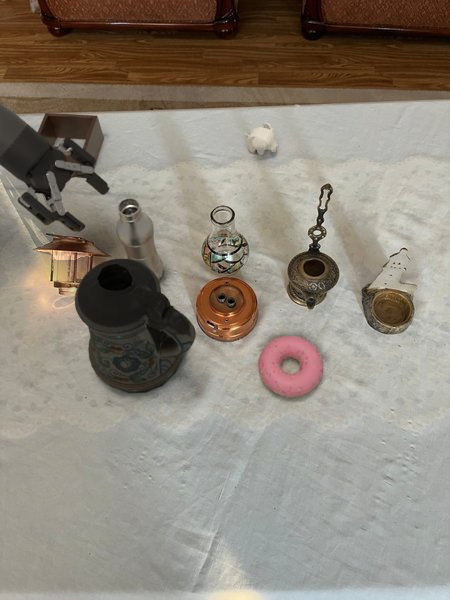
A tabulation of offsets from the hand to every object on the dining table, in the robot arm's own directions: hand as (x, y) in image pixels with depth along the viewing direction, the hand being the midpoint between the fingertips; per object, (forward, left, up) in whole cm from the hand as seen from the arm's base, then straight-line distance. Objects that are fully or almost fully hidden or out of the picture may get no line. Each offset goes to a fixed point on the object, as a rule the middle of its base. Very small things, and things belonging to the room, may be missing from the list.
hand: (94, 210), depth 87 cm
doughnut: (+35, -18, -17) cm, 43 cm away
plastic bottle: (+7, -1, -17) cm, 19 cm away
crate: (-15, +28, -17) cm, 36 cm away
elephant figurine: (+26, +34, -17) cm, 46 cm away
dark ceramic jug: (+10, -17, -17) cm, 26 cm away
